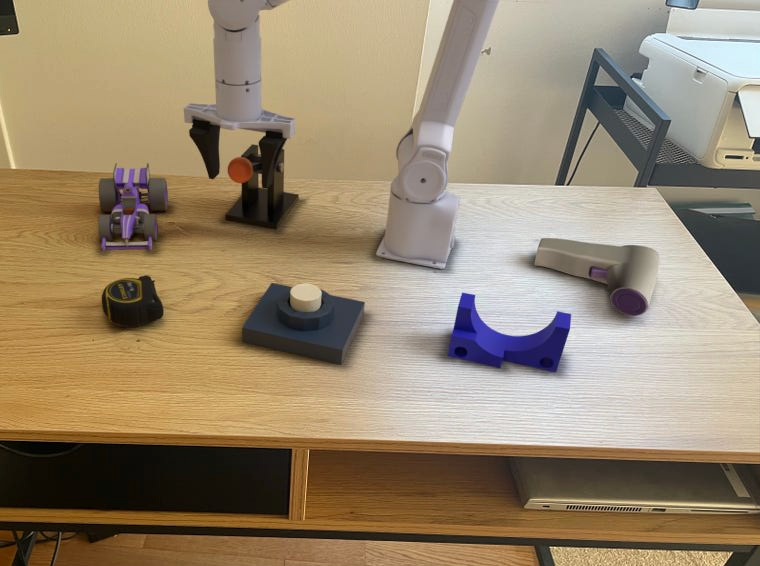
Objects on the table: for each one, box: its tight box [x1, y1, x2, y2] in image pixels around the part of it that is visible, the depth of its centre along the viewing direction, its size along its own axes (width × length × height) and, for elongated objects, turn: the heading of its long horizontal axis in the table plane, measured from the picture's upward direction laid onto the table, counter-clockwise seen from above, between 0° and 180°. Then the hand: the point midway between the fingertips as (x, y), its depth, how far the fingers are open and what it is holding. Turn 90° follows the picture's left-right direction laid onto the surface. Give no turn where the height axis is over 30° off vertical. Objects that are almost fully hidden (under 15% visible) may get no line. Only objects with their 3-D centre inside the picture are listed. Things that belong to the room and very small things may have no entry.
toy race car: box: [97, 162, 169, 252], centre depth 105 cm, size 10×15×6 cm, turn 4°
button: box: [290, 282, 322, 312], centre depth 85 cm, size 4×4×2 cm
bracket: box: [224, 144, 300, 230], centre depth 108 cm, size 10×8×9 cm
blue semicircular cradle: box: [447, 292, 572, 373], centre depth 83 cm, size 12×4×6 cm, turn 71°
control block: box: [241, 282, 366, 366], centre depth 87 cm, size 12×10×4 cm
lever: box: [227, 153, 262, 184], centre depth 102 cm, size 12×3×3 cm, turn 161°
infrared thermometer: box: [534, 237, 661, 317], centre depth 96 cm, size 5×12×15 cm
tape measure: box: [101, 275, 165, 328], centre depth 89 cm, size 7×7×4 cm
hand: (240, 180), depth 99 cm, fingers open, 7 cm apart
